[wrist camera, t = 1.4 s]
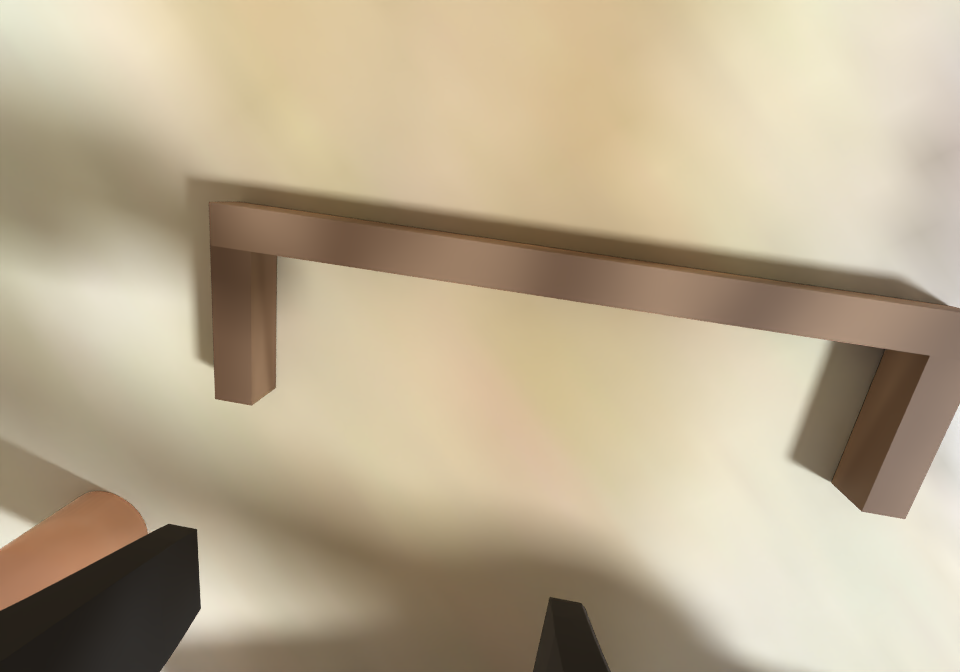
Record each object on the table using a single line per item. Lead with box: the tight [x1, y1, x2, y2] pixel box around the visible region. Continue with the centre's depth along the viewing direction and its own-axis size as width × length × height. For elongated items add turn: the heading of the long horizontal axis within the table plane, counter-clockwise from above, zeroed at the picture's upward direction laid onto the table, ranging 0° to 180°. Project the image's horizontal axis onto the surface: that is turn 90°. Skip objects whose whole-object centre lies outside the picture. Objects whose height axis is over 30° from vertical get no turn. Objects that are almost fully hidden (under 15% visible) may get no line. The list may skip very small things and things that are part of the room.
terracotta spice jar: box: [0, 491, 148, 611], centre depth 20 cm, size 4×4×6 cm
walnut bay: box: [209, 202, 960, 519], centre depth 17 cm, size 26×8×2 cm, turn 83°
